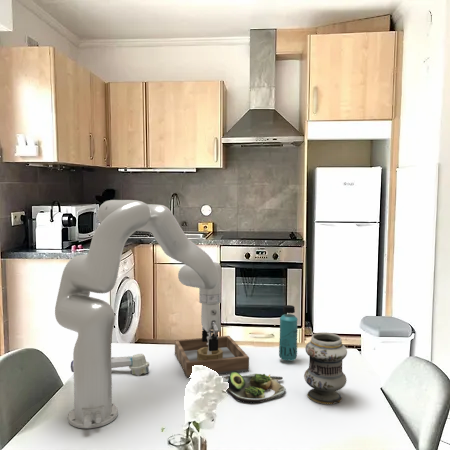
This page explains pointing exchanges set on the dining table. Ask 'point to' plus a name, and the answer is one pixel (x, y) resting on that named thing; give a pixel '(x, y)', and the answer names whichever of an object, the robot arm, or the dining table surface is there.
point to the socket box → (211, 356)
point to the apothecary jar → (325, 368)
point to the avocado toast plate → (253, 387)
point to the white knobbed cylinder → (128, 363)
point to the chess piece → (208, 345)
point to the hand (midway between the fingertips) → (209, 345)
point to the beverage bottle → (288, 334)
